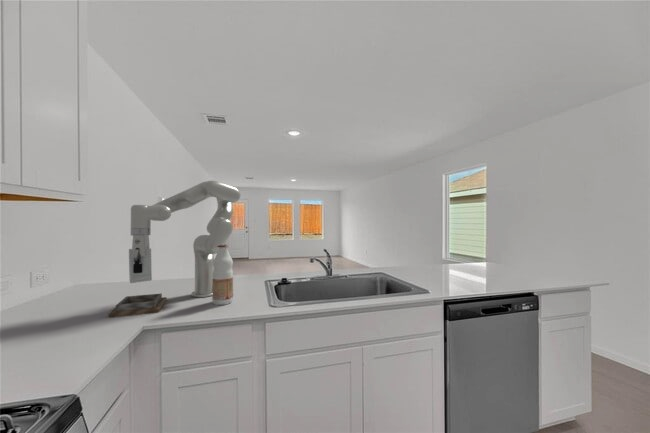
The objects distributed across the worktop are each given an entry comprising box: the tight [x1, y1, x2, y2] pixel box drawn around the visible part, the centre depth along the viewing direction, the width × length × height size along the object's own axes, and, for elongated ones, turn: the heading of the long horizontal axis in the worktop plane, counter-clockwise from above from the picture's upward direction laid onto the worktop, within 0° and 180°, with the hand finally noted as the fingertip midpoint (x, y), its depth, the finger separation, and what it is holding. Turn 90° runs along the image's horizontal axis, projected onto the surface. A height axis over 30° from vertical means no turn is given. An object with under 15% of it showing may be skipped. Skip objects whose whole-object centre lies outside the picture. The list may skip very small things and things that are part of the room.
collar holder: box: [108, 292, 168, 318], centre depth 124 cm, size 18×18×4 cm
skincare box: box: [128, 248, 153, 284], centre depth 124 cm, size 8×6×15 cm
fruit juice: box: [211, 243, 234, 306], centre depth 133 cm, size 9×9×28 cm
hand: (140, 271), depth 124 cm, fingers closed on skincare box, 7 cm apart
